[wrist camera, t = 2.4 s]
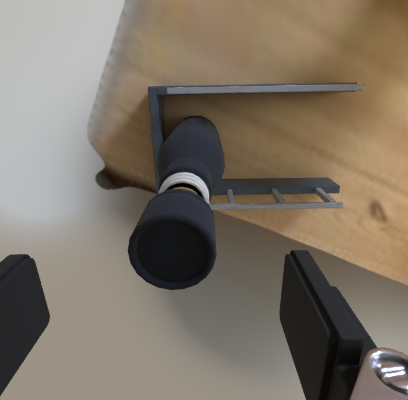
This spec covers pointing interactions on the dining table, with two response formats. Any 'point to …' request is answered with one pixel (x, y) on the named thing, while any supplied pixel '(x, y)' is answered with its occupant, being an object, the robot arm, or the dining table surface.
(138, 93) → the dining table surface
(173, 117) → the dining table surface
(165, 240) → the dark blue bottle
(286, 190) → the dish rack
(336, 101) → the dining table surface
